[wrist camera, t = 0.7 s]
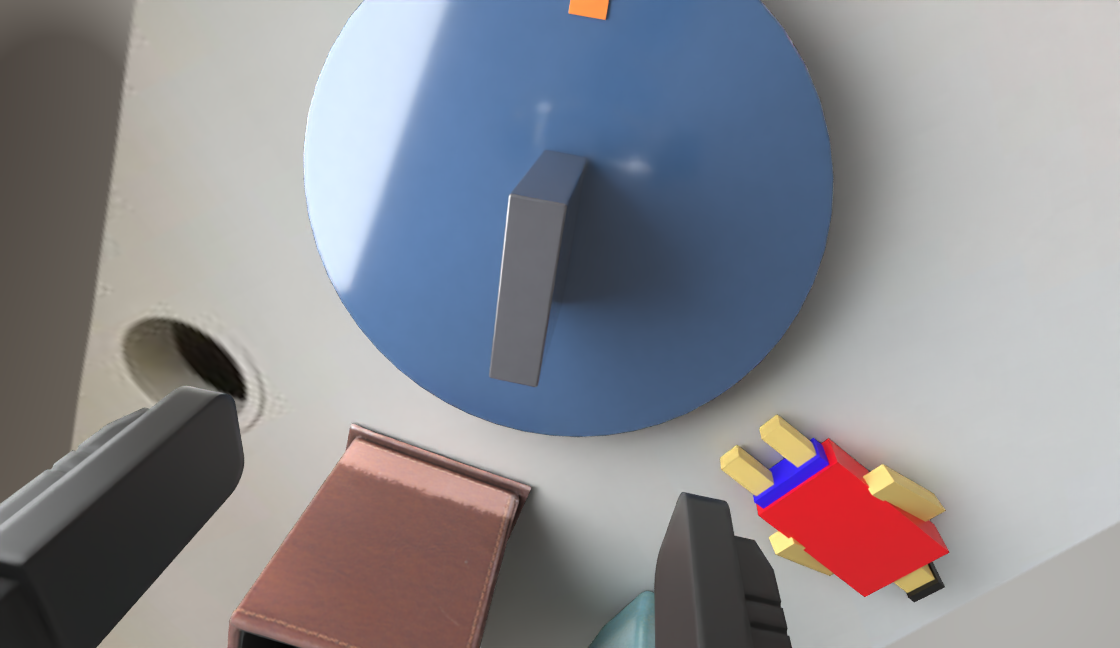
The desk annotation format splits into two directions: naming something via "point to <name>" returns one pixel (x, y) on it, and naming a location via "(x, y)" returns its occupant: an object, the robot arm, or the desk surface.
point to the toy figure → (843, 513)
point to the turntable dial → (569, 200)
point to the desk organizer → (385, 555)
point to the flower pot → (630, 626)
